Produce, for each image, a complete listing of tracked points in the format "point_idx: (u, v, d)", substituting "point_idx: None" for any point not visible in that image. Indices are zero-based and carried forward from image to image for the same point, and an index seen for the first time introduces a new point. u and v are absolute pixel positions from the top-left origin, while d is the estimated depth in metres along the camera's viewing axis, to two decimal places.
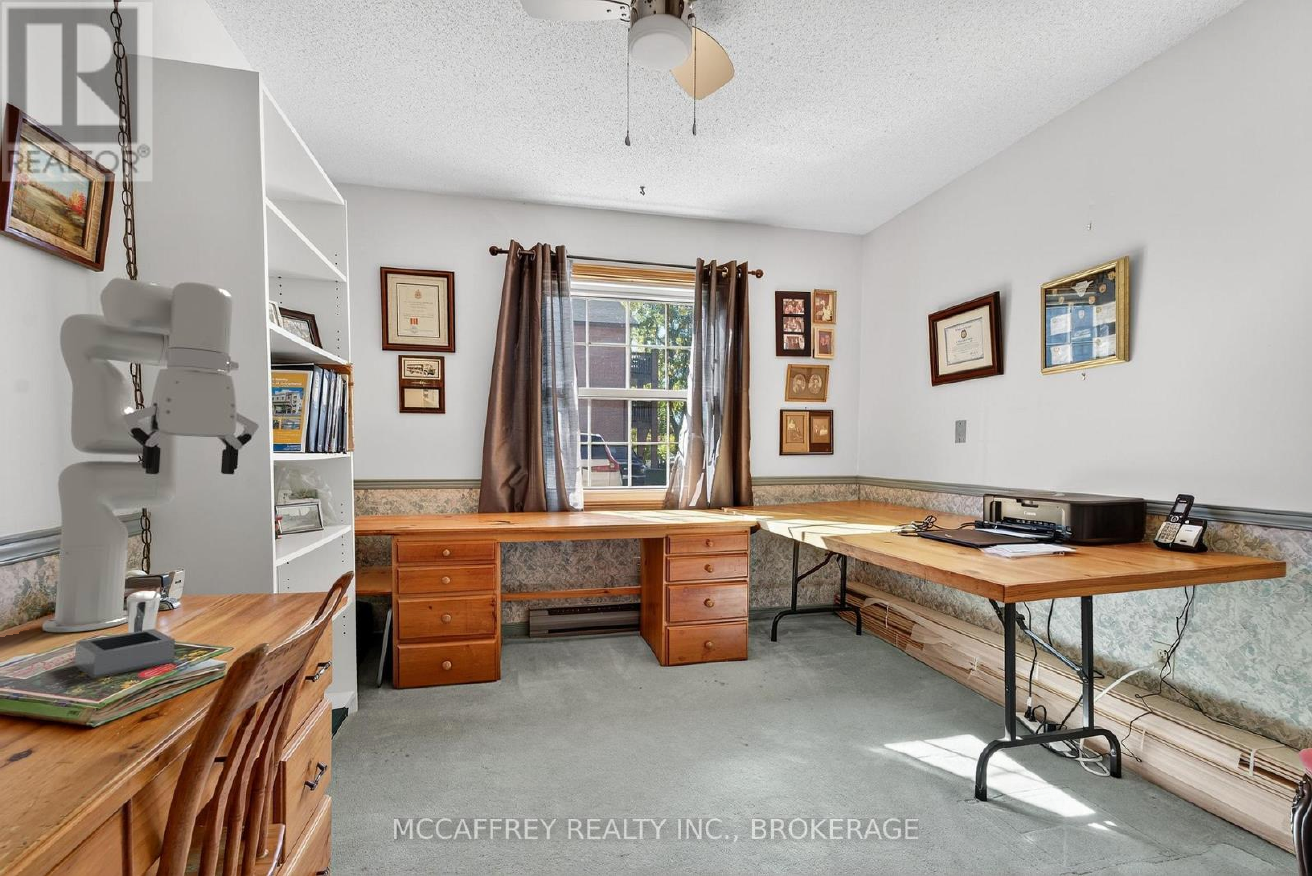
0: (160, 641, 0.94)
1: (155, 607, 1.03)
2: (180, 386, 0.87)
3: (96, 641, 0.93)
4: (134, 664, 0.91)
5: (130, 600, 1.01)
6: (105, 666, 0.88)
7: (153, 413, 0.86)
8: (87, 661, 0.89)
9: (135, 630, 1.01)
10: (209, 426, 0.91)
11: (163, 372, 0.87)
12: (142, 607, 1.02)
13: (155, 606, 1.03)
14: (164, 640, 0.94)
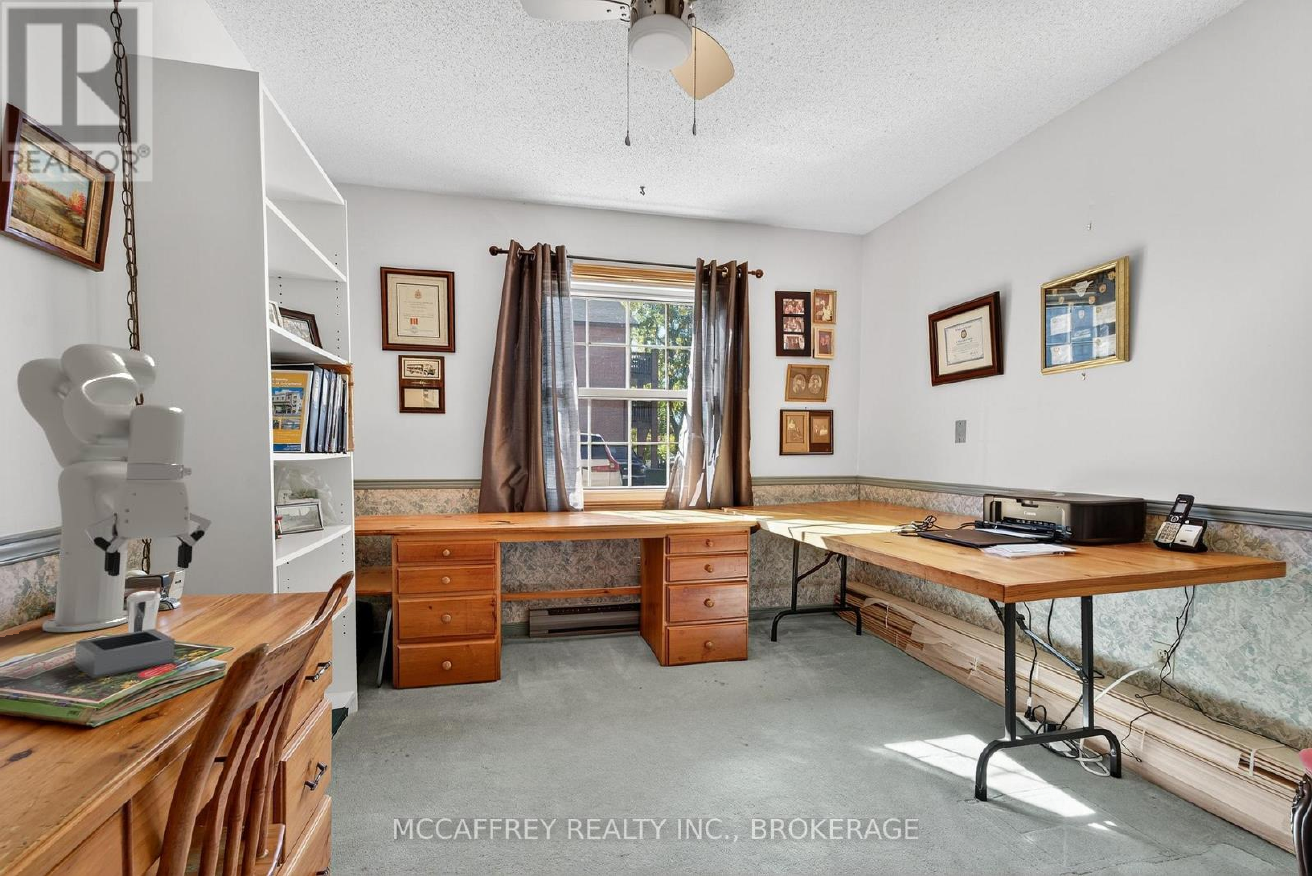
0: (160, 641, 0.94)
1: (155, 607, 1.03)
2: (137, 497, 1.00)
3: (96, 641, 0.93)
4: (134, 664, 0.91)
5: (129, 600, 1.01)
6: (105, 666, 0.88)
7: (113, 522, 0.99)
8: (87, 661, 0.89)
9: (135, 630, 1.01)
10: (164, 529, 1.03)
11: (122, 486, 1.00)
12: (142, 607, 1.02)
13: (155, 606, 1.03)
14: (164, 640, 0.94)
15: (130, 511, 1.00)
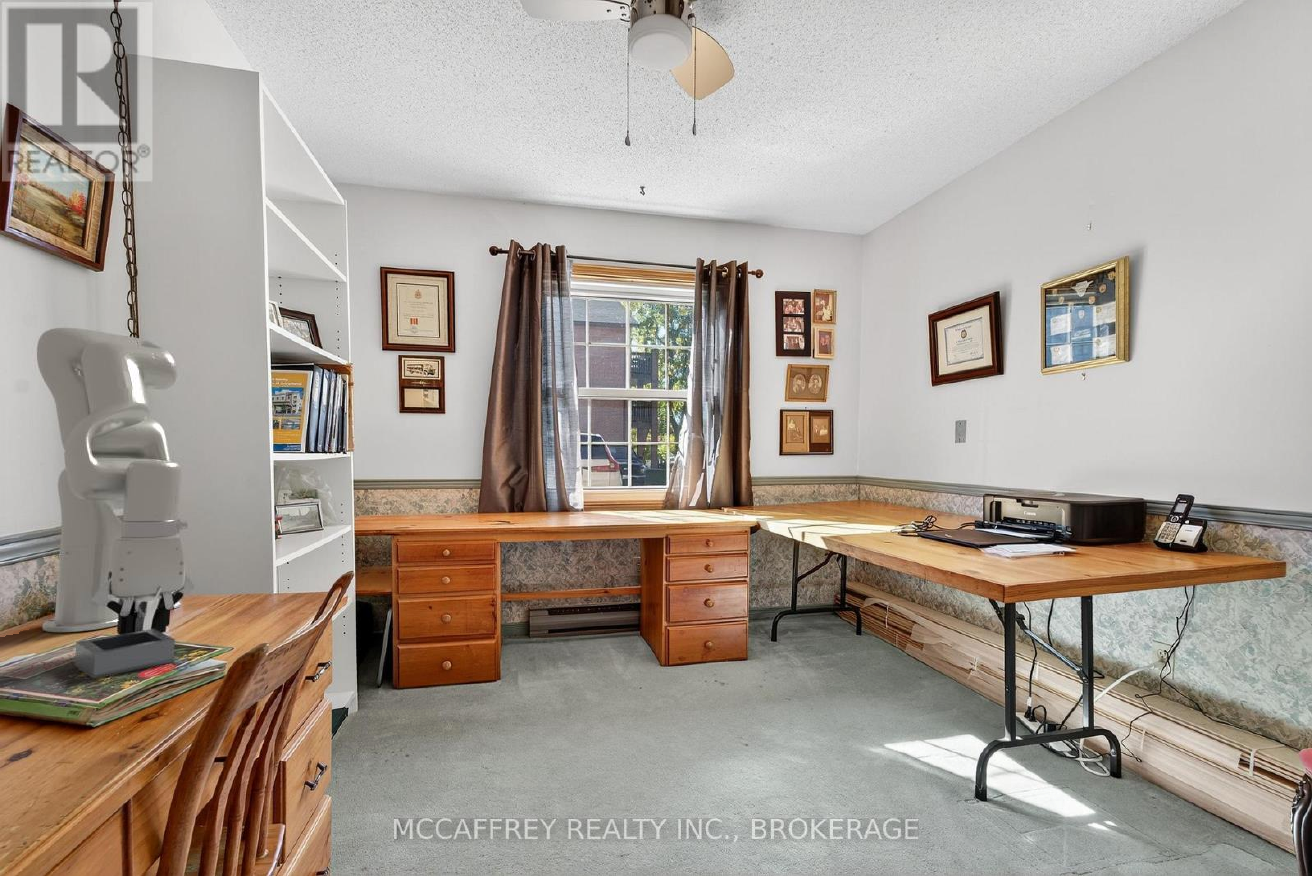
0: (160, 641, 0.94)
1: (156, 607, 1.04)
2: (132, 555, 1.00)
3: (96, 641, 0.93)
4: (134, 664, 0.91)
5: None
6: (105, 666, 0.88)
7: None
8: (87, 661, 0.89)
9: (136, 630, 1.01)
10: (159, 585, 1.03)
11: (118, 544, 1.00)
12: (143, 607, 1.02)
13: (156, 606, 1.03)
14: (164, 640, 0.94)
15: (125, 570, 0.99)
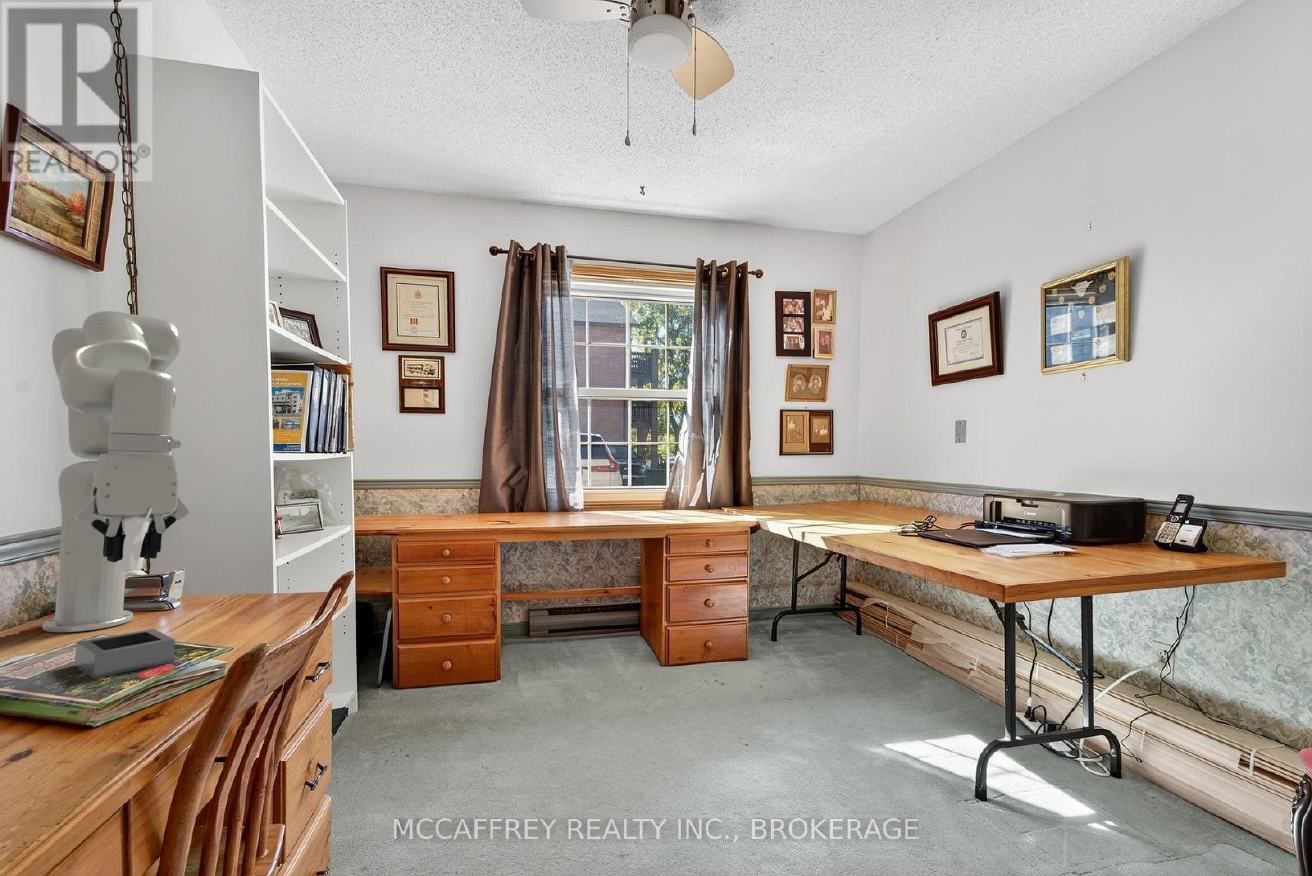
0: (160, 641, 0.94)
1: (146, 530, 0.95)
2: (119, 470, 0.91)
3: (96, 641, 0.93)
4: (134, 664, 0.91)
5: None
6: (105, 666, 0.88)
7: None
8: (87, 661, 0.89)
9: (124, 553, 0.93)
10: (149, 506, 0.94)
11: (103, 457, 0.91)
12: (132, 528, 0.93)
13: (147, 528, 0.95)
14: (164, 640, 0.94)
15: (111, 485, 0.90)
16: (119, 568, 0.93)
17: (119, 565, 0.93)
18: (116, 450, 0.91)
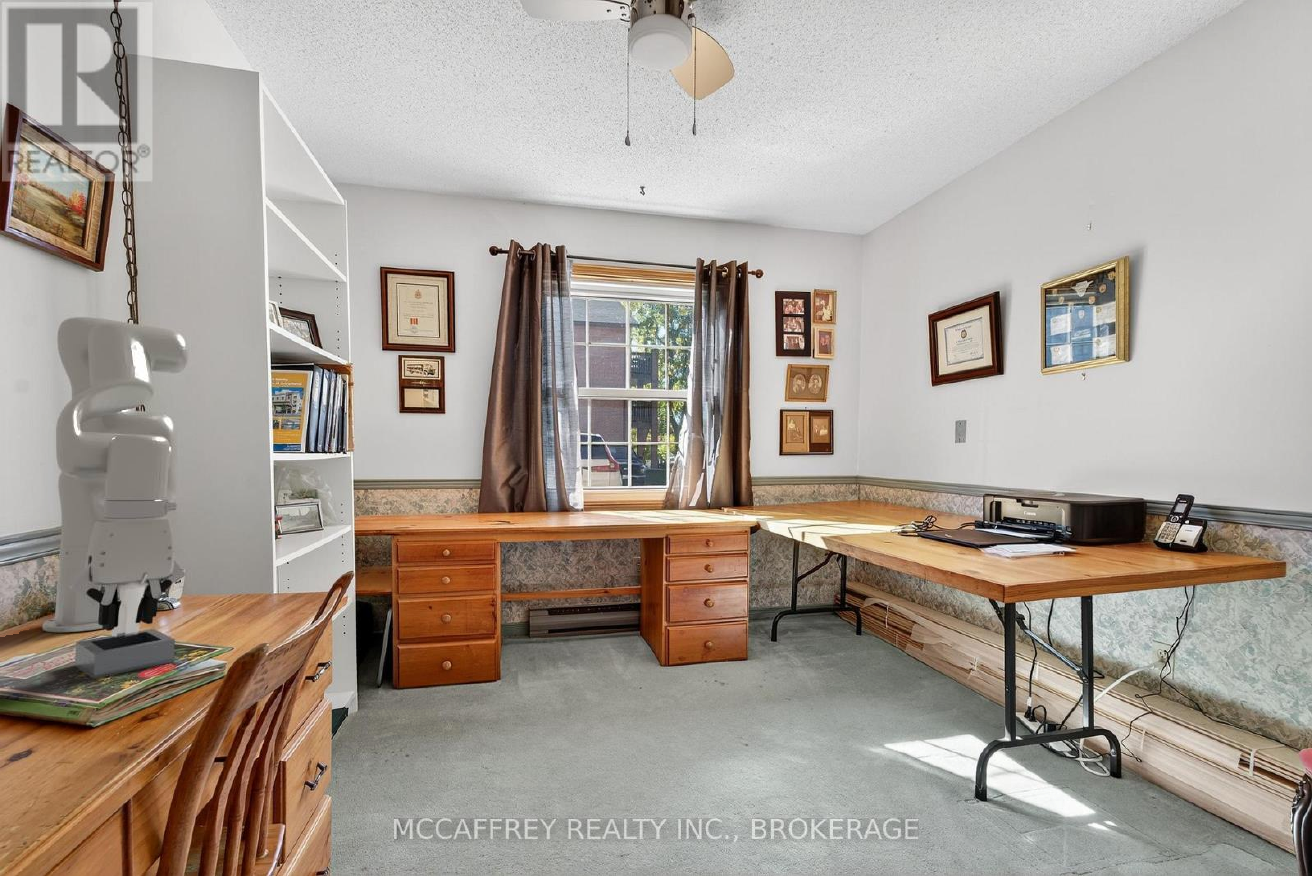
0: (160, 641, 0.94)
1: (142, 595, 0.94)
2: (115, 537, 0.91)
3: (96, 641, 0.93)
4: (134, 664, 0.91)
5: None
6: (105, 666, 0.88)
7: None
8: (87, 661, 0.89)
9: (119, 620, 0.92)
10: (145, 571, 0.94)
11: (98, 525, 0.90)
12: (128, 595, 0.92)
13: (142, 594, 0.94)
14: (164, 640, 0.94)
15: (106, 553, 0.90)
16: (114, 635, 0.92)
17: (114, 632, 0.92)
18: (111, 518, 0.91)
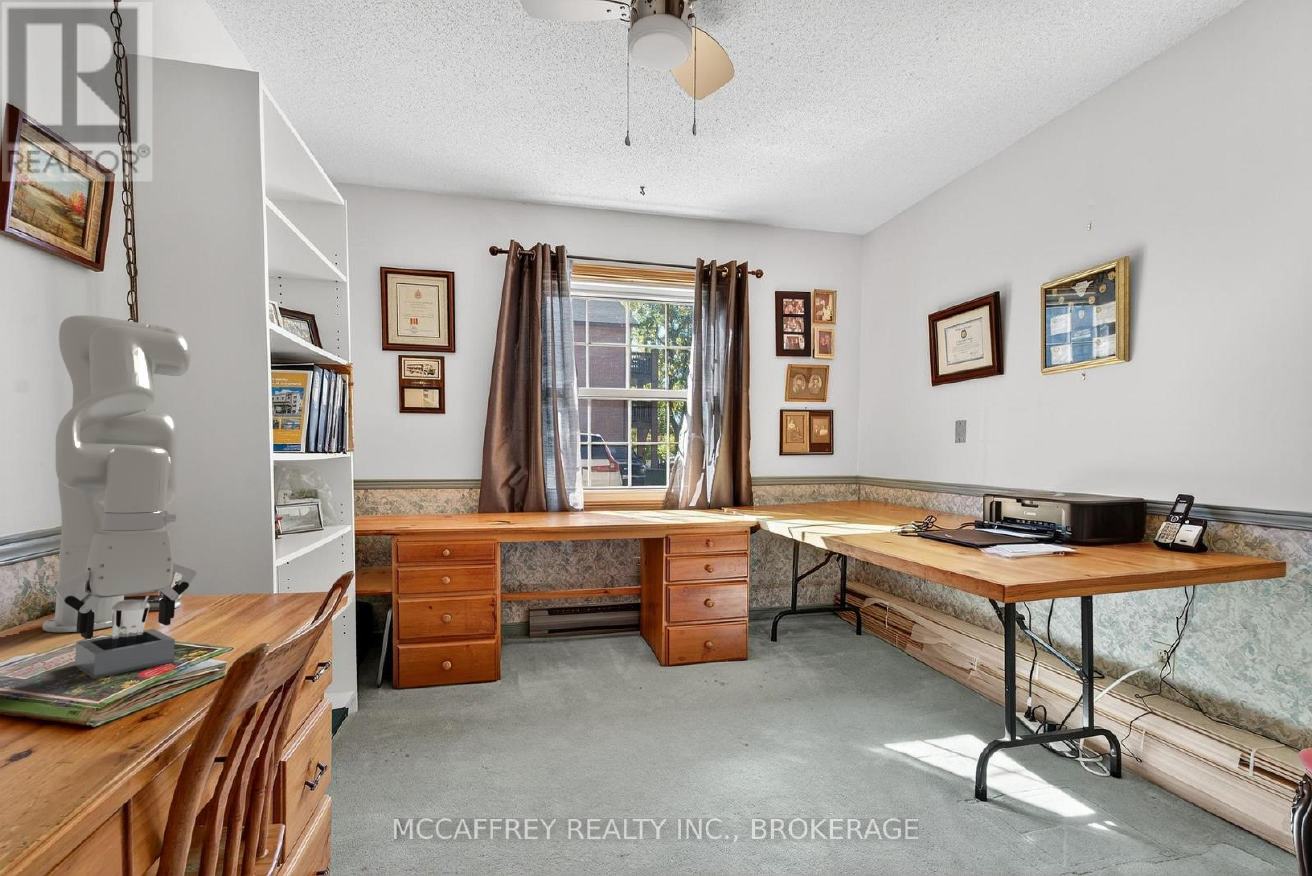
0: (160, 641, 0.94)
1: (143, 617, 0.94)
2: (114, 550, 0.90)
3: (96, 641, 0.93)
4: (134, 664, 0.91)
5: (115, 608, 0.92)
6: (105, 666, 0.88)
7: (87, 579, 0.89)
8: (87, 661, 0.89)
9: (119, 642, 0.92)
10: (144, 583, 0.94)
11: (98, 538, 0.90)
12: (128, 617, 0.93)
13: (143, 616, 0.94)
14: (164, 640, 0.94)
15: (105, 566, 0.90)
16: None
17: None
18: (110, 530, 0.91)
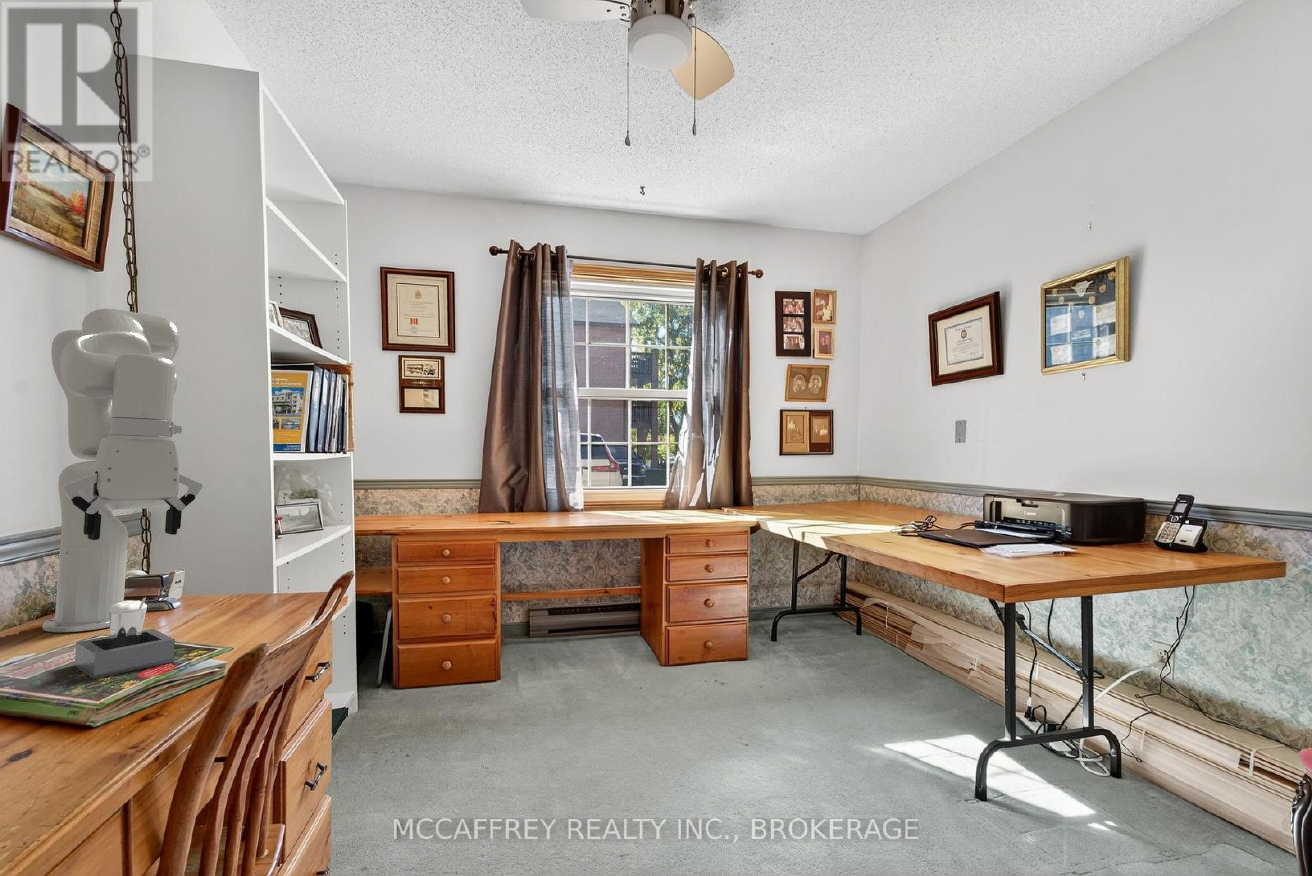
0: (160, 641, 0.94)
1: (140, 619, 0.94)
2: (121, 454, 0.91)
3: (96, 641, 0.93)
4: (134, 664, 0.91)
5: (112, 611, 0.92)
6: (105, 666, 0.88)
7: (94, 481, 0.90)
8: (87, 661, 0.89)
9: (118, 644, 0.92)
10: (151, 490, 0.94)
11: (105, 441, 0.91)
12: (126, 619, 0.92)
13: (140, 618, 0.94)
14: (164, 640, 0.94)
15: (113, 469, 0.90)
16: None
17: None
18: (117, 434, 0.91)
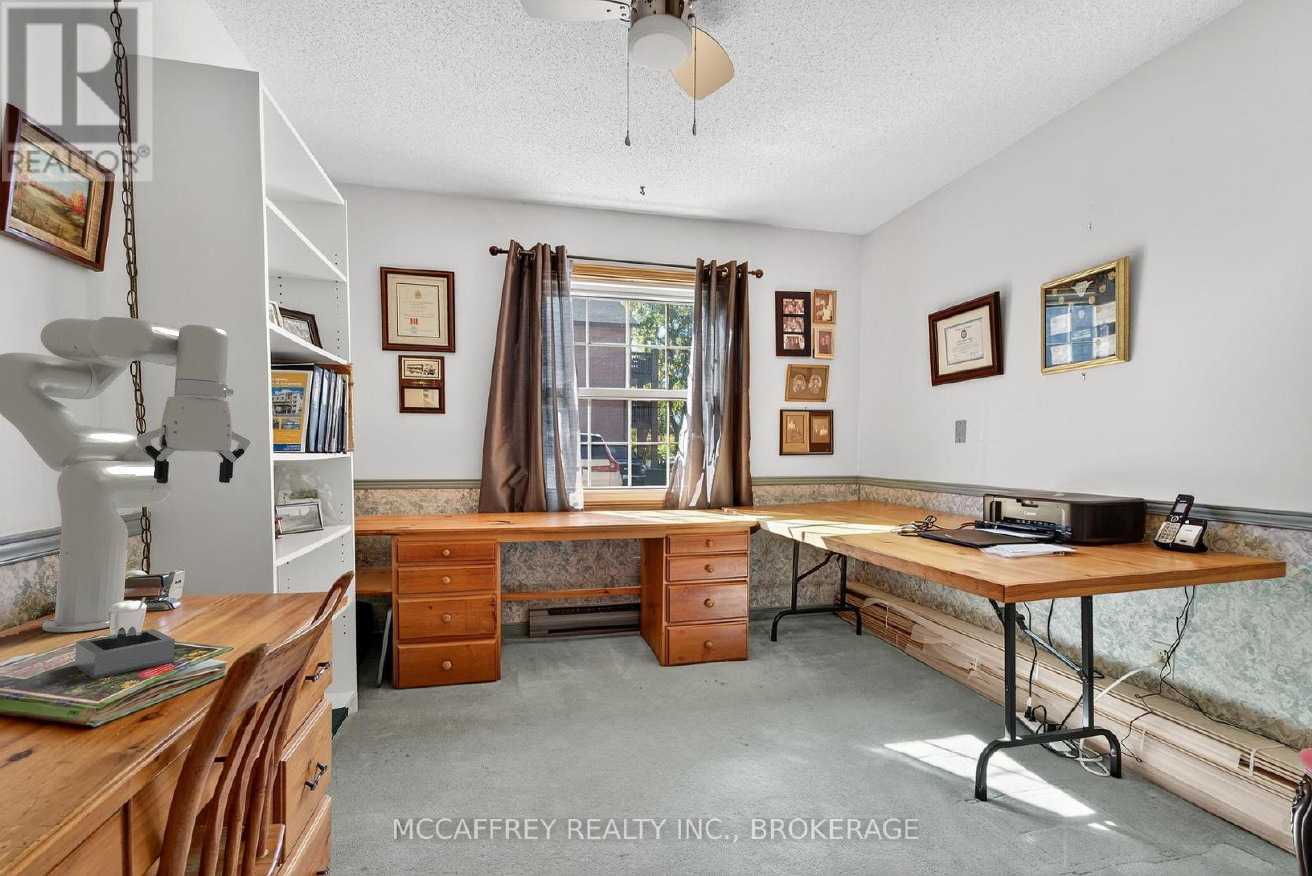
0: (160, 641, 0.94)
1: (140, 618, 0.94)
2: (185, 410, 1.06)
3: (96, 641, 0.93)
4: (134, 664, 0.91)
5: (112, 610, 0.92)
6: (105, 666, 0.88)
7: (163, 433, 1.05)
8: (87, 661, 0.89)
9: (118, 644, 0.92)
10: (209, 443, 1.09)
11: (171, 399, 1.06)
12: (126, 619, 0.92)
13: (140, 617, 0.94)
14: (164, 640, 0.94)
15: (178, 423, 1.05)
16: None
17: None
18: (182, 393, 1.06)
